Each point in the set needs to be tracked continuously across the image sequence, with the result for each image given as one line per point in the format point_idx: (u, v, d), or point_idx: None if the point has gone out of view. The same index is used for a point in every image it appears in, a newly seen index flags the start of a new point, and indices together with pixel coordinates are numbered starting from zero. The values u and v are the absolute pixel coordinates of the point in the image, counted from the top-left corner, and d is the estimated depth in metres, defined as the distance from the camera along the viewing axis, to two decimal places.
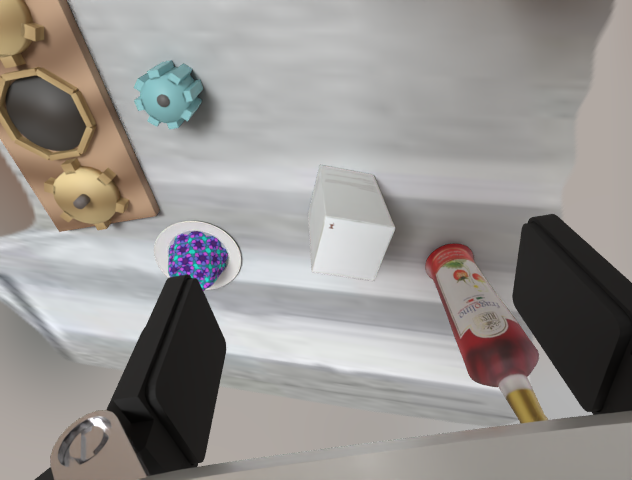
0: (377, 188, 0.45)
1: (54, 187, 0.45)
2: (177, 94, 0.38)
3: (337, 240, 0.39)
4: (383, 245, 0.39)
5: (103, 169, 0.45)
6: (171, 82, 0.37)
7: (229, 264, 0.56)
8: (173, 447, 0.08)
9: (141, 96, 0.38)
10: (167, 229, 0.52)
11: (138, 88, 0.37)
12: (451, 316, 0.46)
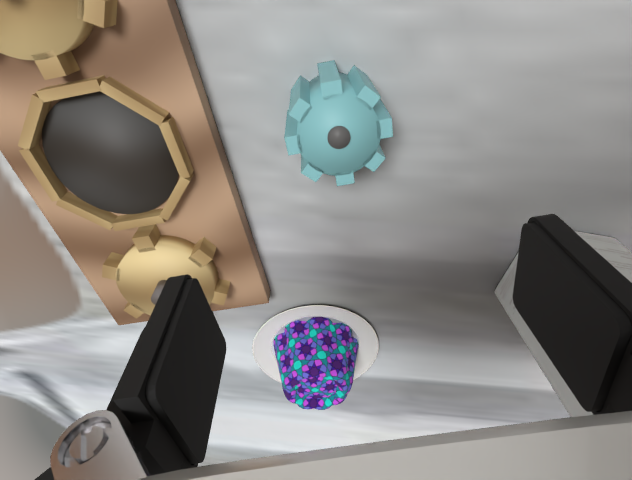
0: None
1: (119, 271, 0.27)
2: (367, 125, 0.20)
3: None
4: None
5: (196, 239, 0.28)
6: (361, 103, 0.19)
7: (357, 357, 0.38)
8: (173, 447, 0.08)
9: (299, 130, 0.20)
10: (279, 316, 0.34)
11: (297, 115, 0.20)
12: None
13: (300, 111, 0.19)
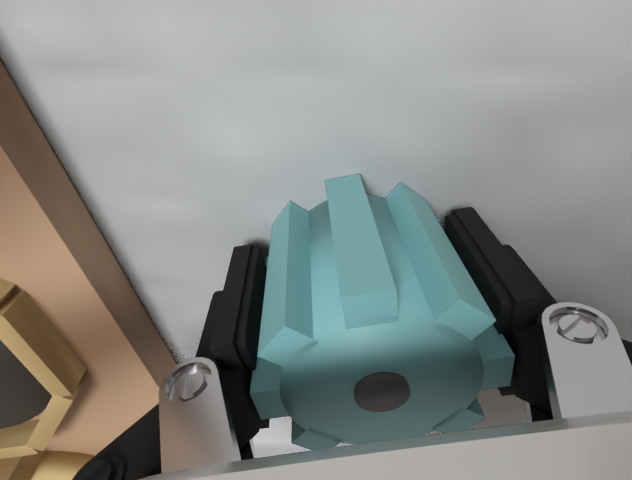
0: None
1: None
2: (453, 369, 0.08)
3: None
4: None
5: None
6: (445, 332, 0.07)
7: None
8: None
9: (286, 381, 0.08)
10: None
11: (279, 357, 0.08)
12: None
13: (287, 350, 0.08)
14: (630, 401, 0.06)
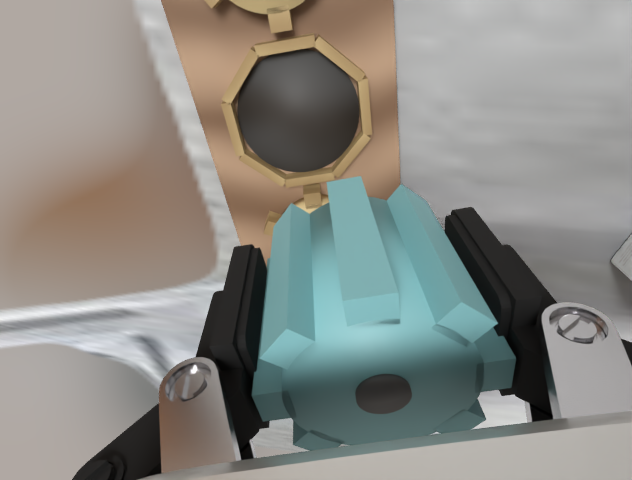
0: None
1: None
2: (454, 372, 0.08)
3: None
4: None
5: None
6: (446, 335, 0.08)
7: None
8: None
9: (288, 383, 0.08)
10: None
11: (281, 359, 0.08)
12: None
13: (289, 352, 0.08)
14: (630, 401, 0.06)
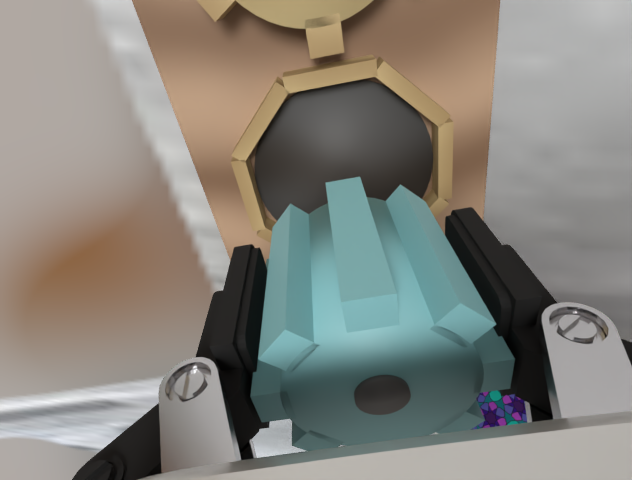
0: None
1: None
2: (453, 373, 0.08)
3: None
4: None
5: None
6: (445, 336, 0.08)
7: None
8: None
9: (287, 384, 0.08)
10: None
11: (279, 360, 0.08)
12: None
13: (288, 353, 0.08)
14: (630, 401, 0.06)
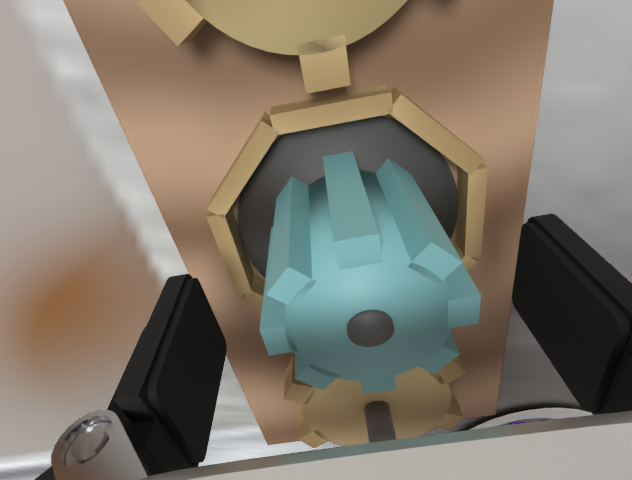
0: None
1: (313, 391, 0.17)
2: (429, 308, 0.10)
3: None
4: None
5: None
6: (421, 273, 0.09)
7: None
8: (174, 446, 0.08)
9: (290, 318, 0.10)
10: (506, 415, 0.24)
11: (284, 296, 0.09)
12: None
13: (290, 289, 0.09)
14: None
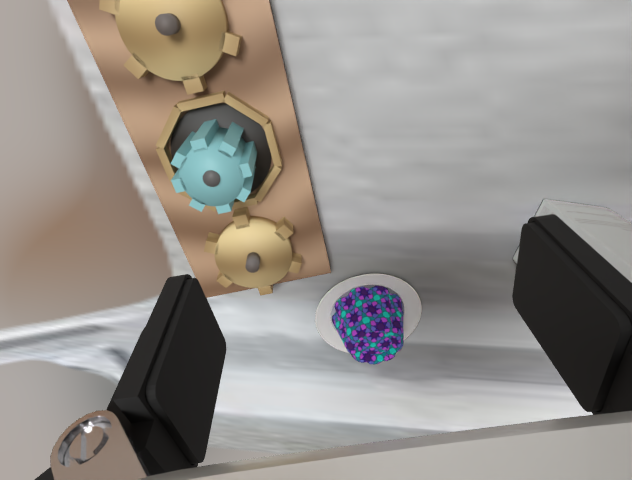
0: None
1: (218, 246, 0.34)
2: (231, 169, 0.27)
3: None
4: None
5: (278, 219, 0.35)
6: (223, 153, 0.26)
7: None
8: (173, 447, 0.08)
9: (181, 174, 0.27)
10: (350, 279, 0.41)
11: (177, 164, 0.26)
12: None
13: (179, 161, 0.26)
14: None
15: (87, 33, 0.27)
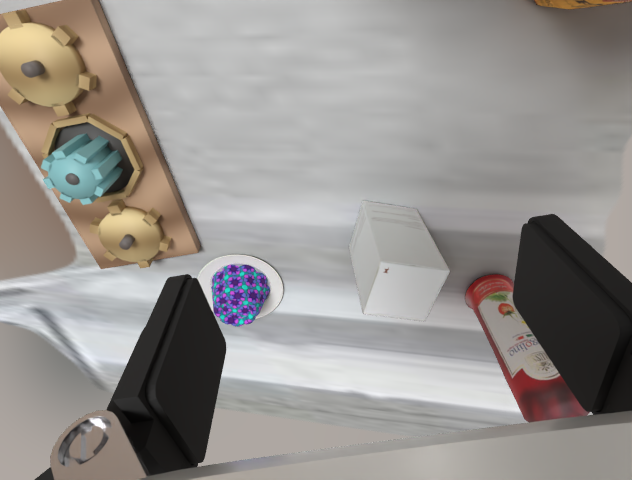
0: (423, 225, 0.45)
1: (100, 228, 0.45)
2: (86, 172, 0.37)
3: (391, 284, 0.38)
4: (436, 287, 0.39)
5: (148, 209, 0.45)
6: (78, 162, 0.36)
7: (266, 301, 0.56)
8: (173, 446, 0.08)
9: (49, 175, 0.37)
10: (222, 258, 0.51)
11: (45, 168, 0.37)
12: (499, 353, 0.46)
13: (46, 166, 0.37)
14: None
15: None
